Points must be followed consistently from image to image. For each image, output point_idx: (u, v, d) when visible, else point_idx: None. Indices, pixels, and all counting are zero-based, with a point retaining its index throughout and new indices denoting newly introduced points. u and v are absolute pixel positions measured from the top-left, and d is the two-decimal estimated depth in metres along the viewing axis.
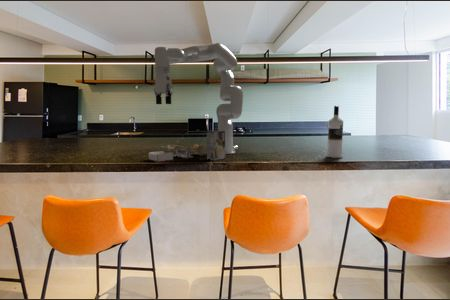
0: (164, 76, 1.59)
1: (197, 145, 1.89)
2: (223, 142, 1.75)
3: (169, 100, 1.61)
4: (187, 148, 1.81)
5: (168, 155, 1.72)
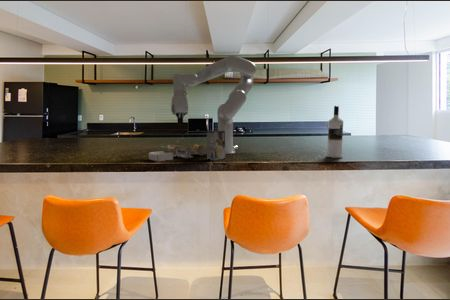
0: None
1: (197, 145, 1.89)
2: (223, 142, 1.75)
3: None
4: (187, 148, 1.81)
5: (168, 155, 1.72)
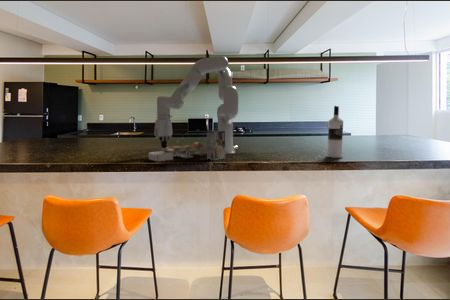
0: None
1: (196, 143, 1.89)
2: (223, 142, 1.75)
3: None
4: (186, 148, 1.81)
5: (168, 155, 1.72)
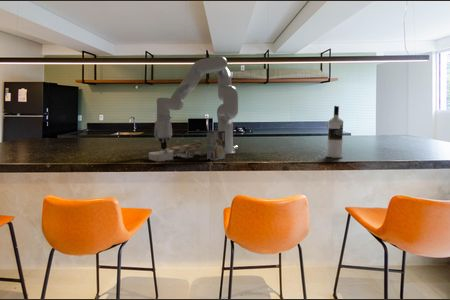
0: None
1: None
2: (223, 142, 1.75)
3: None
4: (186, 148, 1.81)
5: (168, 155, 1.72)
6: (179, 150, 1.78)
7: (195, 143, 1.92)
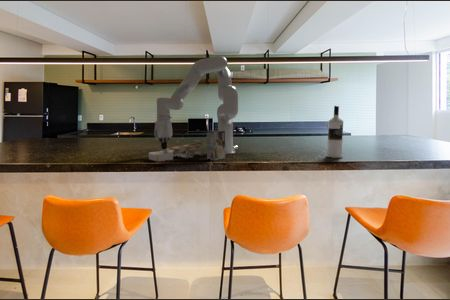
0: None
1: None
2: (223, 142, 1.75)
3: None
4: (186, 148, 1.81)
5: (168, 155, 1.72)
6: (179, 150, 1.78)
7: (195, 143, 1.92)
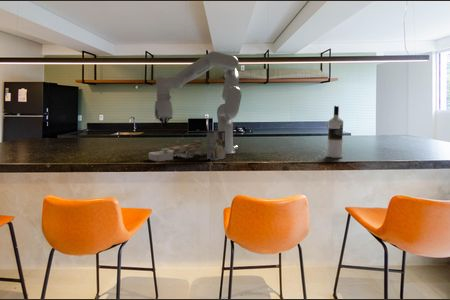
0: None
1: None
2: (223, 142, 1.75)
3: None
4: (186, 148, 1.81)
5: (168, 155, 1.72)
6: (179, 150, 1.78)
7: (195, 143, 1.92)
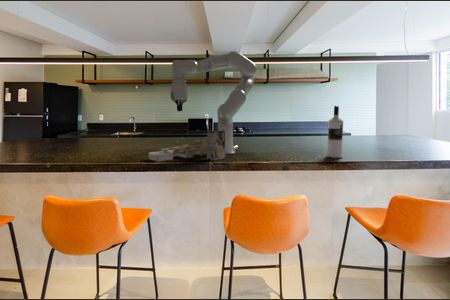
0: (186, 86, 1.91)
1: None
2: (223, 142, 1.75)
3: None
4: (186, 148, 1.81)
5: (168, 155, 1.72)
6: (179, 150, 1.78)
7: (195, 143, 1.92)
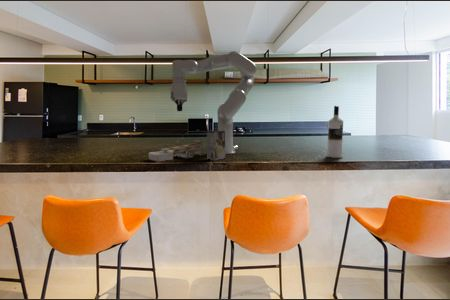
0: (186, 86, 1.91)
1: None
2: (223, 142, 1.75)
3: None
4: (186, 148, 1.81)
5: (168, 155, 1.72)
6: (179, 150, 1.78)
7: (195, 143, 1.92)
